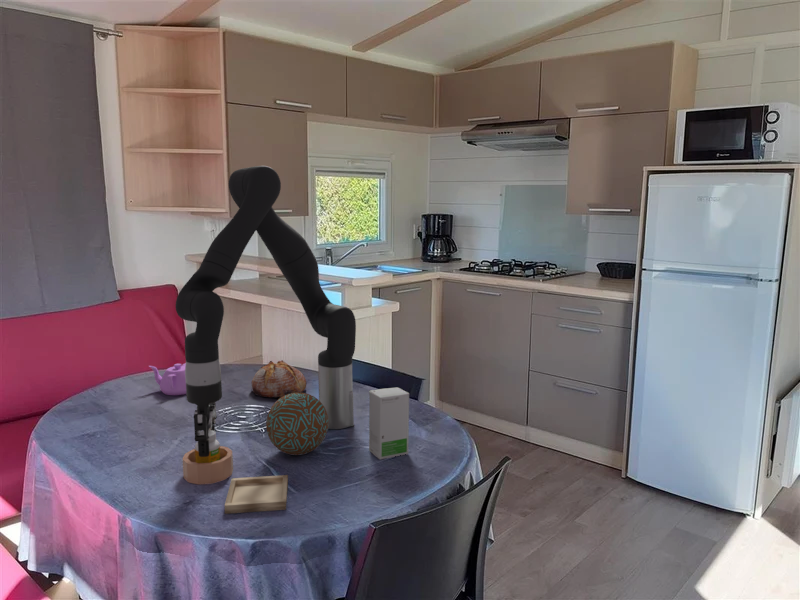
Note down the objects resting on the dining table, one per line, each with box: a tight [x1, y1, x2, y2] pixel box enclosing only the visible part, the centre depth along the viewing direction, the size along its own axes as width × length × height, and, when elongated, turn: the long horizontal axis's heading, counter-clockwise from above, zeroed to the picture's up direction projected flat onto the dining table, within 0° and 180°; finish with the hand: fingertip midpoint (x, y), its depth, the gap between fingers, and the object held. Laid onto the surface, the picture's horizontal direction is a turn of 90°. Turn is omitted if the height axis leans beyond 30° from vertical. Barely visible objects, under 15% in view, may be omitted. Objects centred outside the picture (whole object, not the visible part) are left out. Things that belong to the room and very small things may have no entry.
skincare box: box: [368, 387, 410, 460], centre depth 153 cm, size 8×7×16 cm
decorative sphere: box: [265, 392, 329, 456], centre depth 153 cm, size 15×15×15 cm
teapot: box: [148, 362, 187, 396], centre depth 200 cm, size 12×14×9 cm
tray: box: [224, 474, 289, 515], centre depth 131 cm, size 12×12×2 cm
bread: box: [251, 359, 307, 399], centre depth 201 cm, size 16×20×10 cm
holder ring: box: [182, 445, 234, 485], centre depth 142 cm, size 10×10×4 cm
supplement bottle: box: [194, 430, 221, 463], centre depth 142 cm, size 5×5×10 cm
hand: (207, 448), depth 141 cm, fingers open, 8 cm apart
